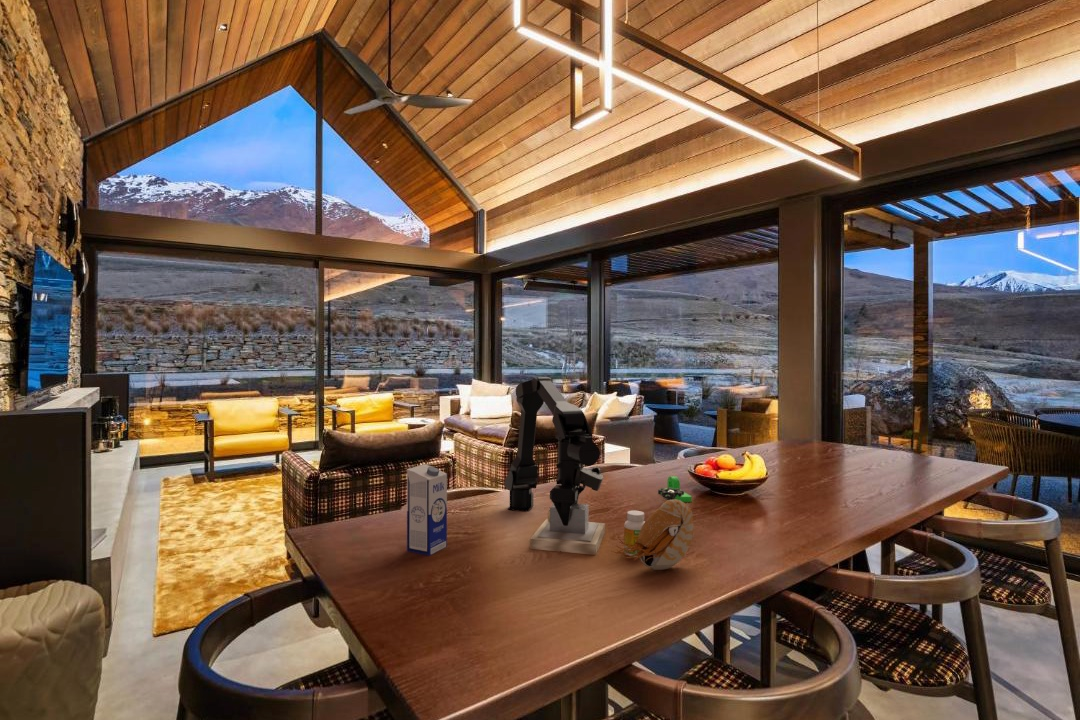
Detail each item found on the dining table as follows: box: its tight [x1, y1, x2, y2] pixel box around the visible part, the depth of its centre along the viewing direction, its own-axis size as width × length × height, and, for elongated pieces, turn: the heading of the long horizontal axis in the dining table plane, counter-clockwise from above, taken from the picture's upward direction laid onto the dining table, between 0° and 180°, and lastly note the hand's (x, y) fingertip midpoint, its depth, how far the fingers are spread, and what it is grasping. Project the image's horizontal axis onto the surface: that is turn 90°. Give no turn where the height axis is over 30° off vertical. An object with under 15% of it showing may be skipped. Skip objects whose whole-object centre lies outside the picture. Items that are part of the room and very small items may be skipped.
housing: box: [547, 503, 590, 534], centre depth 138 cm, size 5×10×6 cm, turn 76°
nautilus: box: [611, 499, 694, 571], centre depth 118 cm, size 8×22×15 cm, turn 119°
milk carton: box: [406, 463, 448, 556], centre depth 131 cm, size 7×7×20 cm
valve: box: [657, 487, 685, 501], centre depth 141 cm, size 7×7×12 cm
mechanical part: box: [659, 475, 693, 503], centre depth 181 cm, size 12×6×8 cm, turn 9°
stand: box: [529, 518, 606, 556], centre depth 138 cm, size 16×17×3 cm
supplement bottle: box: [623, 510, 646, 557], centre depth 129 cm, size 5×5×10 cm
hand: (569, 520), depth 138 cm, fingers open, 9 cm apart
